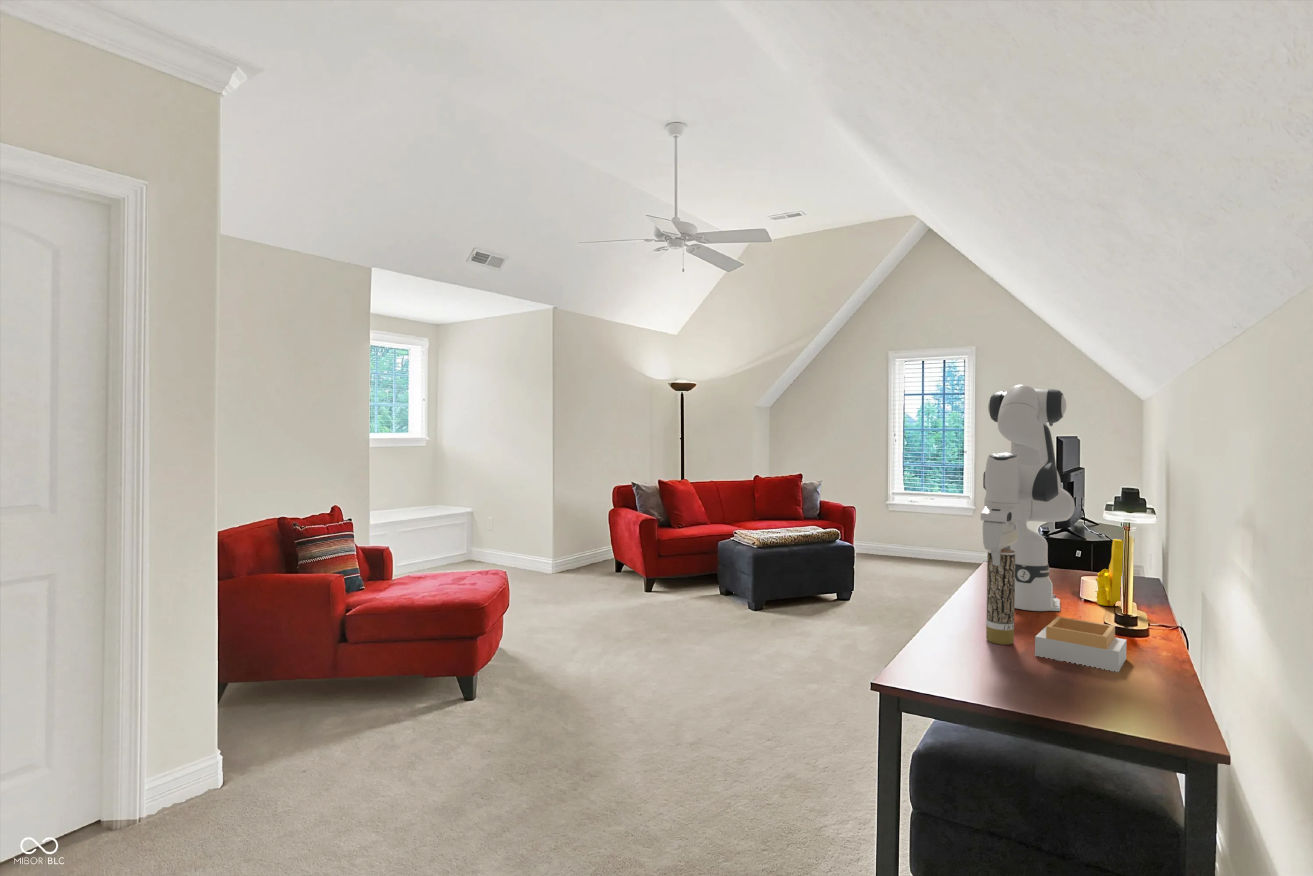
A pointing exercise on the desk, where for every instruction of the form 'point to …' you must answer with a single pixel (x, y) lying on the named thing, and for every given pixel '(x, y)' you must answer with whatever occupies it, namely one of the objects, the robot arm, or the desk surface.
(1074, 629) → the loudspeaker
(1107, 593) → the figure statuette
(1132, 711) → the desk surface
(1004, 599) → the paper tube
